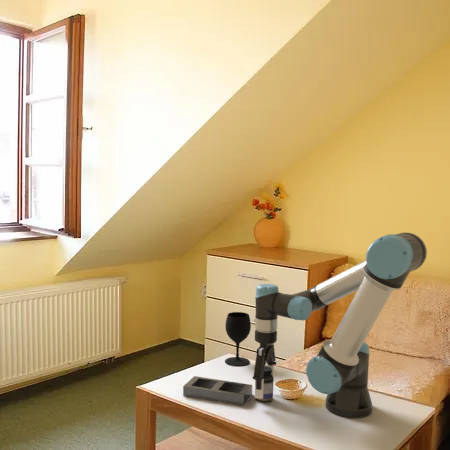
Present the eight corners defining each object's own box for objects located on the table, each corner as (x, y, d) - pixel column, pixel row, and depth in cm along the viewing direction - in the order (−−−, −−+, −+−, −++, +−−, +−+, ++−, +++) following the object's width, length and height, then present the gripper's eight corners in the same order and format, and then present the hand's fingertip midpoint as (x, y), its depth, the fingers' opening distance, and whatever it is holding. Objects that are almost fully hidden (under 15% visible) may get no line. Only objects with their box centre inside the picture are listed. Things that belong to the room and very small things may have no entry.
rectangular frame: (252, 394, 184) (252, 384, 184) (243, 405, 174) (243, 395, 174) (194, 385, 191) (194, 376, 191) (183, 395, 182) (183, 386, 181)
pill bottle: (252, 397, 182) (253, 366, 181) (268, 395, 184) (269, 364, 183) (259, 404, 176) (259, 372, 175) (275, 402, 178) (276, 370, 177)
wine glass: (235, 368, 209) (237, 319, 208) (219, 361, 217) (220, 313, 216) (255, 363, 216) (256, 315, 214) (238, 356, 224) (239, 310, 222)
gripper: (264, 319, 191) (263, 376, 193) (244, 338, 167) (243, 402, 169) (284, 321, 188) (283, 379, 190) (267, 341, 165) (265, 406, 167)
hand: (264, 390), depth 180 cm, fingers open, 13 cm apart
